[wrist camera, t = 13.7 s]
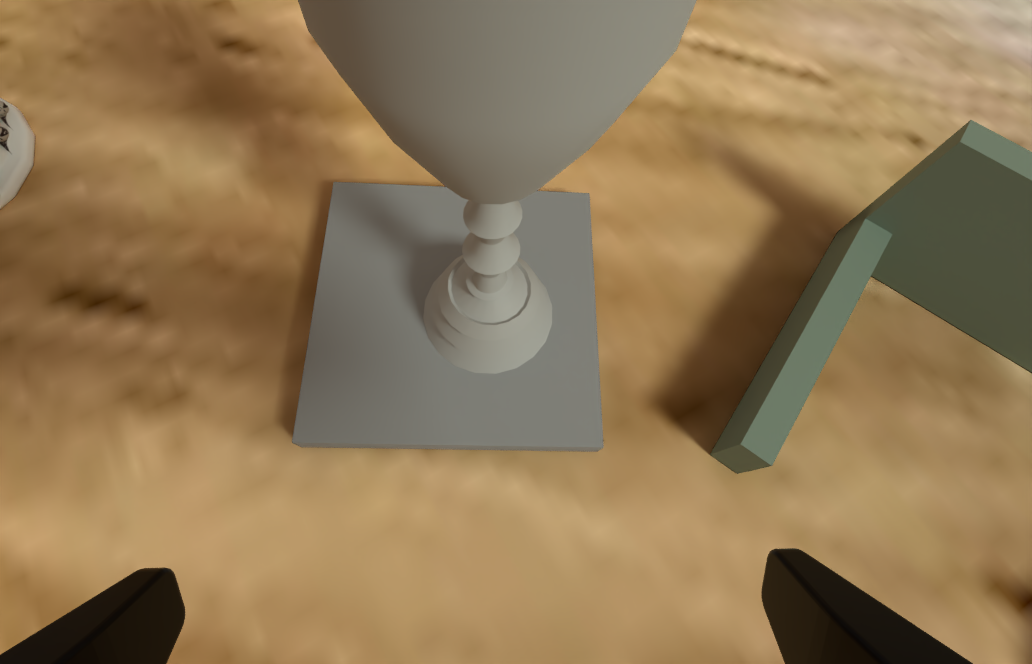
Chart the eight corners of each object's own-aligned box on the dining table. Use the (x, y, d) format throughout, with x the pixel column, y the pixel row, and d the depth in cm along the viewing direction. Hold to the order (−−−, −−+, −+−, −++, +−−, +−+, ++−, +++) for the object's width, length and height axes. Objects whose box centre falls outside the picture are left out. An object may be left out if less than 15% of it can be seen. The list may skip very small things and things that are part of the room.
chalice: (477, 439, 18) (468, -450, 2) (359, 310, 20) (-264, -841, 3) (613, 313, 21) (1191, -625, 4) (497, 205, 22) (556, -814, 5)
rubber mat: (597, 451, 20) (603, 447, 19) (301, 446, 19) (292, 442, 18) (585, 206, 24) (589, 193, 23) (339, 196, 23) (333, 181, 22)
